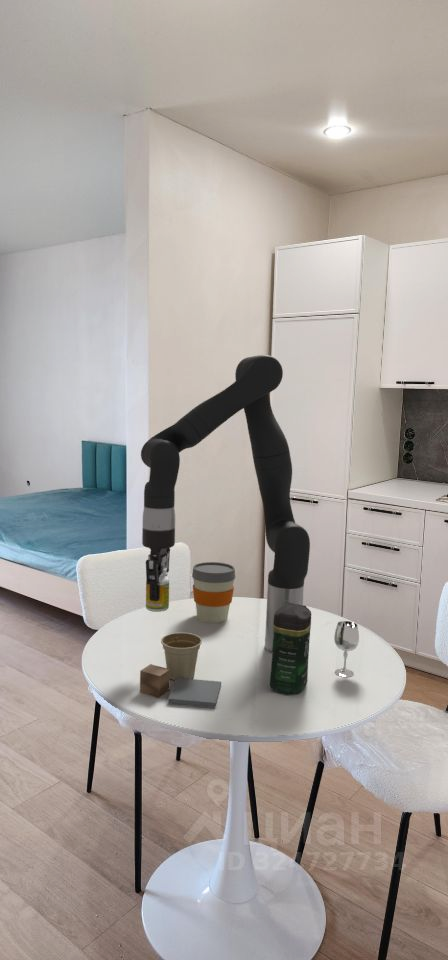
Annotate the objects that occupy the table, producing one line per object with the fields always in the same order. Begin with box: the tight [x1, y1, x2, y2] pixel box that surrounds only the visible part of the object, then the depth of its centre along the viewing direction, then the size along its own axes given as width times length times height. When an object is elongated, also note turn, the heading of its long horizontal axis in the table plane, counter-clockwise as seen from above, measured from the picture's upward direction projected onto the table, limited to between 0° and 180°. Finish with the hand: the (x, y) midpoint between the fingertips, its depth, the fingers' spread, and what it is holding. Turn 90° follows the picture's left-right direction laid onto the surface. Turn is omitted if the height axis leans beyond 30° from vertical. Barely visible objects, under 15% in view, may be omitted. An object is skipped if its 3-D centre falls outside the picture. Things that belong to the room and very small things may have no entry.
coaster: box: [167, 678, 222, 709], centre depth 137 cm, size 10×10×1 cm
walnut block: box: [139, 663, 171, 699], centre depth 138 cm, size 5×4×5 cm
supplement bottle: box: [145, 567, 170, 613], centre depth 148 cm, size 5×5×10 cm
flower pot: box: [160, 632, 203, 682], centre depth 146 cm, size 9×9×9 cm
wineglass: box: [333, 620, 360, 678], centre depth 150 cm, size 6×6×12 cm
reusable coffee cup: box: [191, 561, 236, 624], centre depth 185 cm, size 13×13×15 cm
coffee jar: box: [269, 603, 312, 696], centre depth 141 cm, size 10×8×19 cm
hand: (157, 596), depth 149 cm, fingers closed on supplement bottle, 5 cm apart
